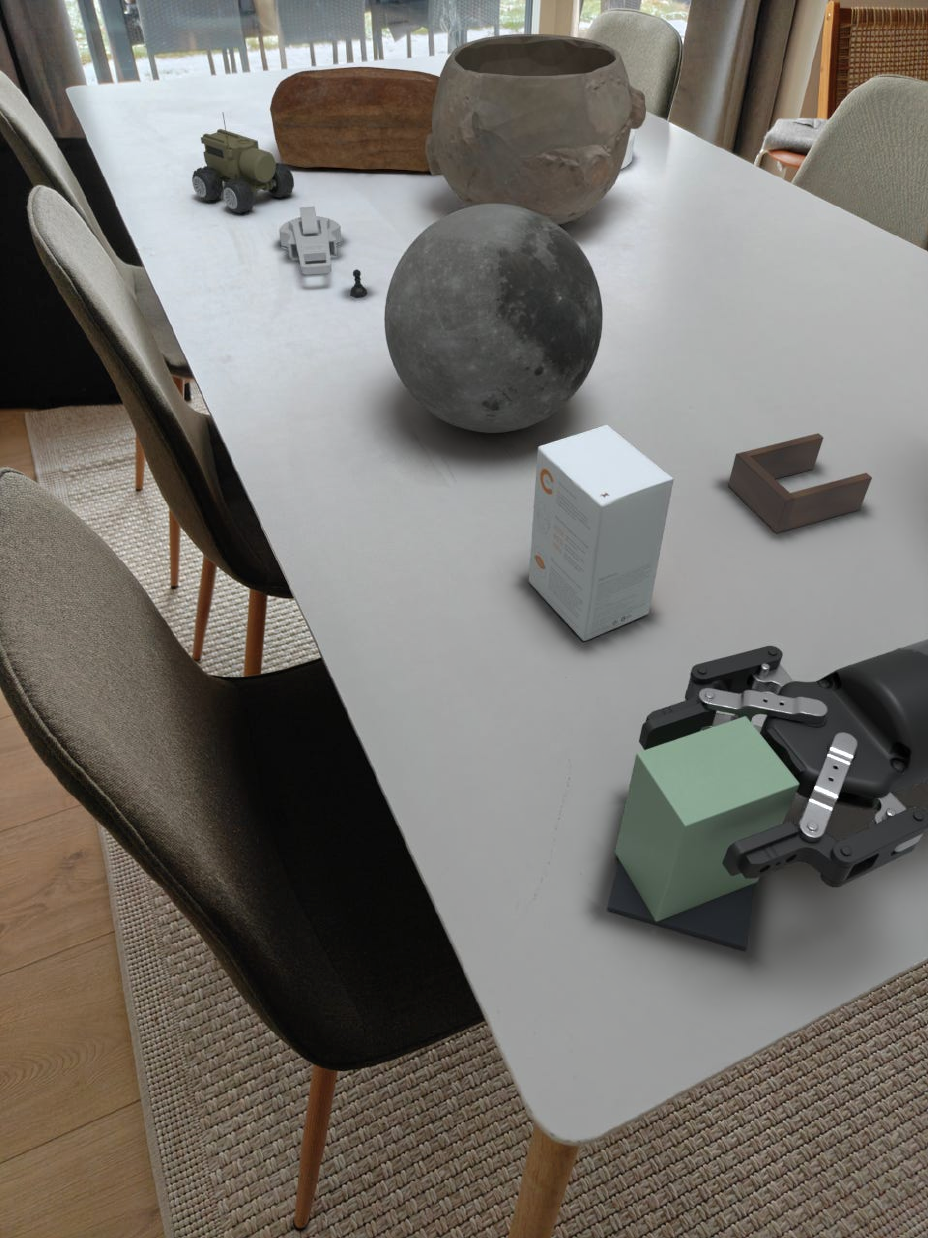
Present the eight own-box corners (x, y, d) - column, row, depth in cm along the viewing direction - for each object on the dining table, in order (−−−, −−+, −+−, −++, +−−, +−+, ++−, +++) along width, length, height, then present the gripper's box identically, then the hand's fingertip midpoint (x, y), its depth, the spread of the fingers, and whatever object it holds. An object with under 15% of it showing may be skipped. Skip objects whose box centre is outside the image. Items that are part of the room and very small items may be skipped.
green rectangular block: (712, 816, 59) (746, 715, 52) (757, 882, 56) (800, 783, 49) (614, 852, 57) (636, 752, 50) (655, 923, 54) (685, 826, 47)
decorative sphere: (581, 365, 100) (601, 170, 86) (601, 475, 86) (629, 262, 72) (395, 365, 100) (385, 169, 86) (384, 474, 86) (369, 261, 72)
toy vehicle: (248, 178, 139) (234, 89, 131) (299, 196, 134) (289, 105, 126) (192, 199, 133) (174, 107, 125) (243, 219, 128) (228, 124, 120)
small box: (650, 615, 73) (677, 478, 64) (583, 644, 70) (601, 506, 61) (590, 556, 78) (607, 421, 69) (525, 581, 75) (534, 445, 66)
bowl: (390, 238, 124) (381, 68, 110) (478, 169, 142) (480, 16, 128) (583, 276, 116) (600, 98, 102) (650, 197, 134) (673, 37, 120)
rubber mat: (758, 835, 59) (759, 831, 58) (745, 950, 53) (746, 947, 53) (632, 802, 60) (633, 798, 60) (607, 910, 55) (607, 907, 55)
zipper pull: (286, 294, 112) (281, 258, 109) (280, 234, 125) (275, 201, 122) (351, 289, 113) (348, 254, 110) (339, 230, 126) (336, 197, 123)
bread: (456, 179, 139) (455, 88, 131) (270, 173, 141) (258, 83, 132) (463, 148, 149) (463, 61, 141) (289, 143, 151) (279, 57, 142)
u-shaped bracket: (808, 464, 87) (818, 432, 85) (860, 509, 82) (872, 477, 80) (727, 485, 85) (735, 453, 82) (776, 533, 80) (786, 500, 78)
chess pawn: (346, 295, 112) (344, 270, 110) (355, 288, 113) (353, 264, 111) (361, 298, 111) (359, 273, 109) (369, 291, 113) (368, 267, 111)
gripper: (989, 843, 52) (744, 946, 48) (828, 669, 62) (611, 741, 57) (1048, 761, 47) (779, 869, 43) (862, 585, 56) (626, 657, 52)
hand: (683, 796), depth 50 cm, fingers open, 8 cm apart
